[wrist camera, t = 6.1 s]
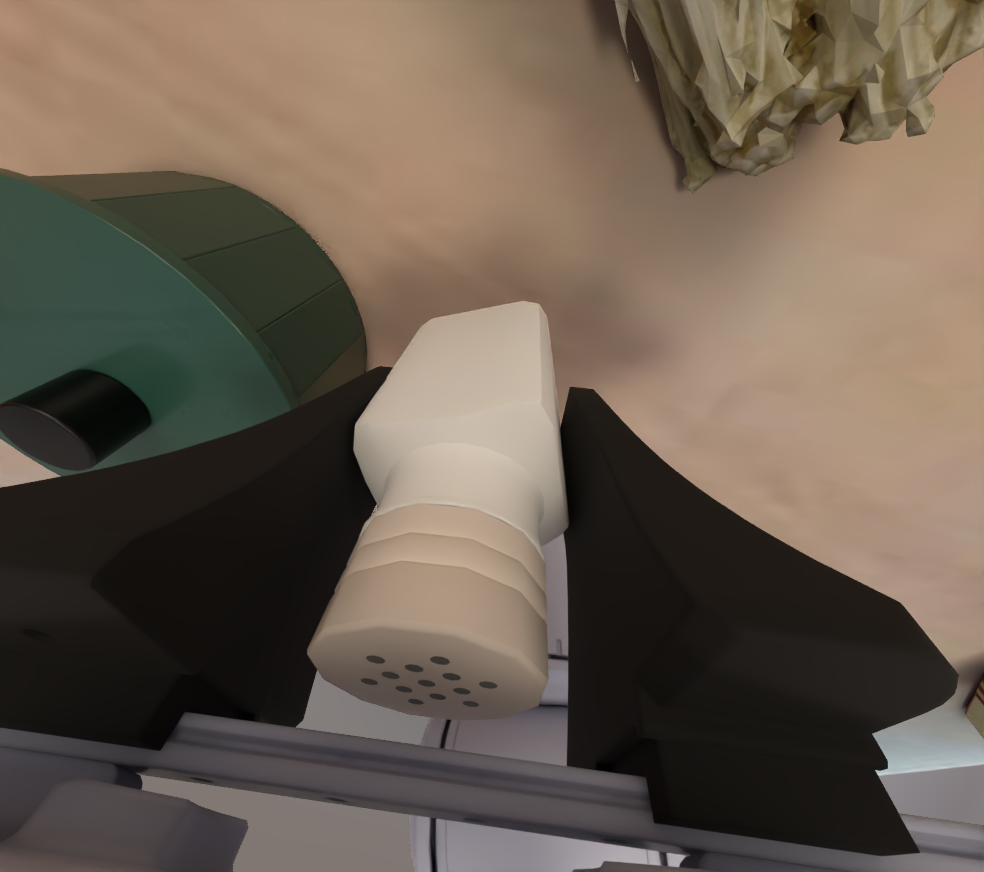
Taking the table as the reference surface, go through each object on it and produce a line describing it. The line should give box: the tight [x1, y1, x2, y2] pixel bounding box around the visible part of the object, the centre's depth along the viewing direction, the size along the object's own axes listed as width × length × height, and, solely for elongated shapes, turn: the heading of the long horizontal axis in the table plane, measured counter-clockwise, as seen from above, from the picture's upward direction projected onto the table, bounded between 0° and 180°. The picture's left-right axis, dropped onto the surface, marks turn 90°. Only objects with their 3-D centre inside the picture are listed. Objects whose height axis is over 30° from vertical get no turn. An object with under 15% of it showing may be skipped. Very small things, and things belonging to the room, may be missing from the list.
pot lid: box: [0, 168, 301, 476], centre depth 11 cm, size 12×12×3 cm
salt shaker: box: [307, 301, 569, 721], centre depth 9 cm, size 4×4×10 cm
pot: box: [30, 171, 367, 405], centre depth 14 cm, size 11×11×6 cm
